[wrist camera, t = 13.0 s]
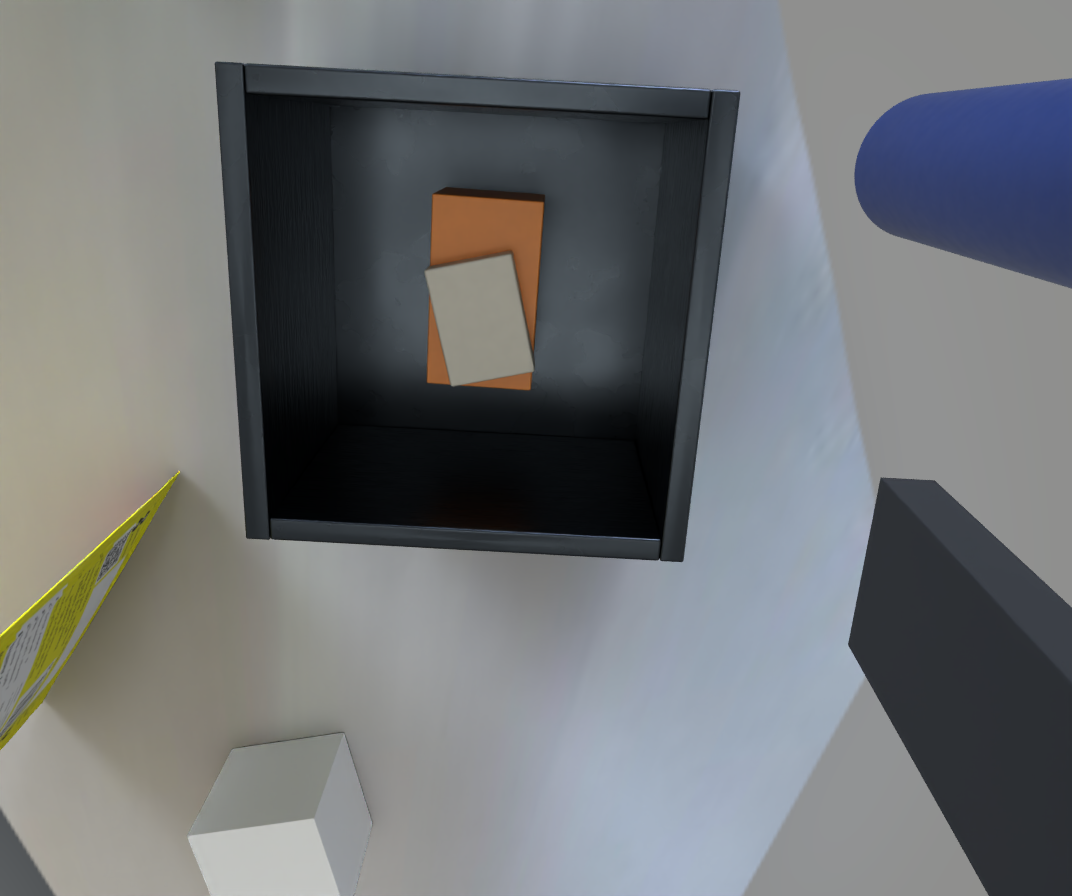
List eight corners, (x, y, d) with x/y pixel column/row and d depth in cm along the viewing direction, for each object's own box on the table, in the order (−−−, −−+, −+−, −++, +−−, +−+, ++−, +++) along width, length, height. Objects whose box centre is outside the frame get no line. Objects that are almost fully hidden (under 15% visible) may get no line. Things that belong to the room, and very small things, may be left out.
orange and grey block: (547, 194, 35) (546, 204, 30) (535, 365, 37) (532, 397, 33) (442, 186, 35) (425, 194, 30) (436, 358, 37) (420, 389, 33)
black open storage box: (685, 103, 34) (740, 90, 24) (649, 452, 39) (683, 563, 29) (314, 82, 34) (213, 61, 24) (324, 434, 39) (245, 539, 29)
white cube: (232, 748, 45) (186, 835, 40) (344, 731, 45) (313, 817, 39) (265, 839, 47) (226, 935, 42) (372, 824, 47) (348, 919, 41)
